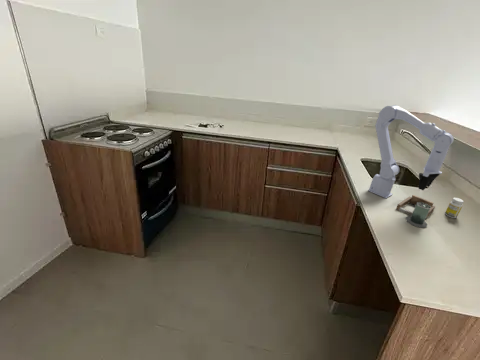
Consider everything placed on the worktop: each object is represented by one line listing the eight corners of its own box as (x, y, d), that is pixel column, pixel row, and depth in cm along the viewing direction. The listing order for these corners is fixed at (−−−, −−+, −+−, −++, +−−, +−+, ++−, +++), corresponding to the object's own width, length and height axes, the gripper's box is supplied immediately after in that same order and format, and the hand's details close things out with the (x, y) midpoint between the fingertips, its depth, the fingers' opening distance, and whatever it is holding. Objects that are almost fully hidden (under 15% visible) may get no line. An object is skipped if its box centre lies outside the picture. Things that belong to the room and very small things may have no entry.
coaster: (402, 220, 118) (403, 219, 118) (409, 215, 123) (410, 214, 123) (423, 230, 113) (423, 228, 113) (429, 224, 118) (429, 222, 118)
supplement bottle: (451, 213, 130) (459, 197, 127) (459, 218, 126) (467, 202, 122) (442, 212, 130) (449, 196, 126) (449, 217, 125) (457, 201, 122)
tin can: (407, 219, 118) (414, 203, 115) (412, 216, 121) (419, 200, 118) (420, 225, 115) (428, 209, 111) (425, 222, 118) (432, 206, 114)
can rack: (395, 208, 128) (398, 201, 126) (407, 200, 137) (410, 193, 135) (422, 220, 120) (426, 212, 118) (433, 211, 130) (436, 203, 128)
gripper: (441, 166, 115) (428, 194, 120) (450, 160, 124) (438, 187, 129) (422, 160, 119) (411, 188, 125) (433, 155, 128) (421, 181, 134)
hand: (423, 187), depth 127 cm, fingers open, 7 cm apart
